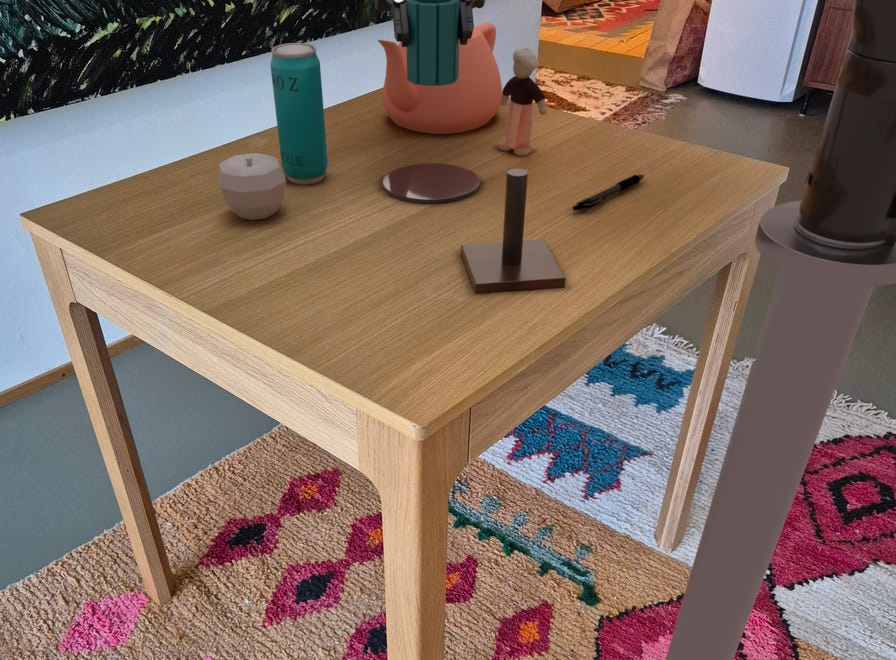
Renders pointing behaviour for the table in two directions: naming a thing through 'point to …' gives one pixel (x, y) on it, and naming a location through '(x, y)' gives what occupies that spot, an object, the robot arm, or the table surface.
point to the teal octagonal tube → (433, 41)
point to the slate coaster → (431, 183)
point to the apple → (252, 185)
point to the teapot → (445, 89)
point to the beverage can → (299, 112)
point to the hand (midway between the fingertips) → (435, 41)
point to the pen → (607, 192)
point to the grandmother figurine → (521, 102)
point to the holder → (512, 250)
